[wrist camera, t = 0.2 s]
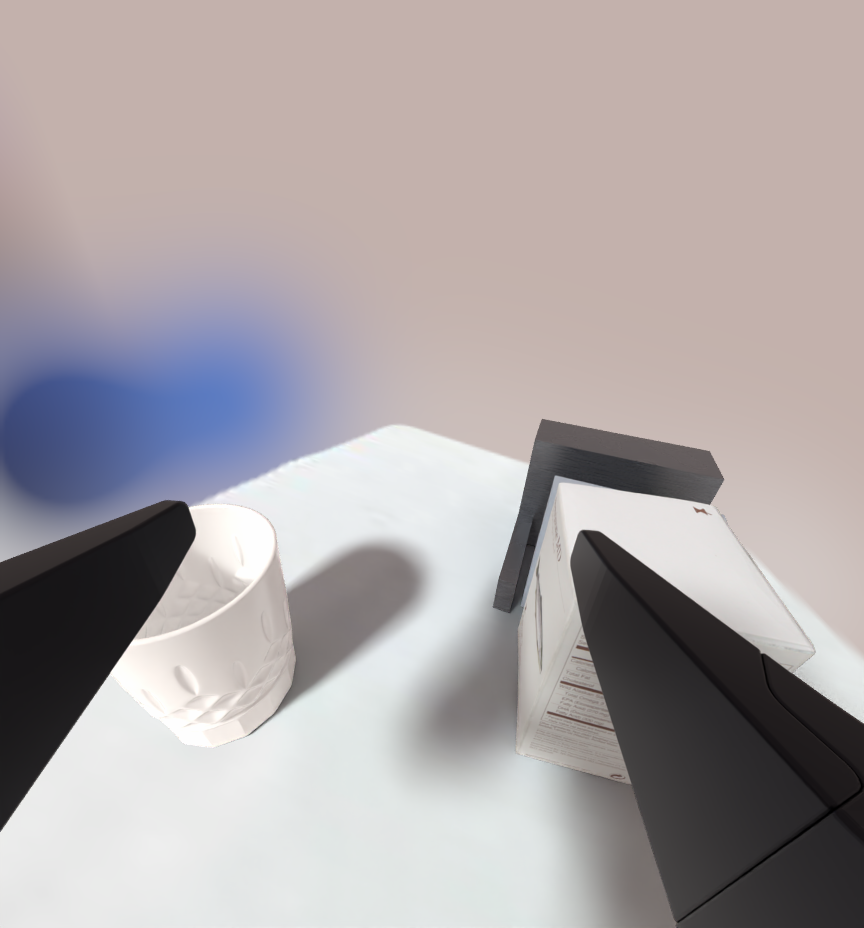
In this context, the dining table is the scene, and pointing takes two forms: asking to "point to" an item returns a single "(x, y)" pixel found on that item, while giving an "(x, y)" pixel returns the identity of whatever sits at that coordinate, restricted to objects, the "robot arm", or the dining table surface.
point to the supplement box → (560, 629)
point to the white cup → (216, 633)
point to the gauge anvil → (601, 480)
